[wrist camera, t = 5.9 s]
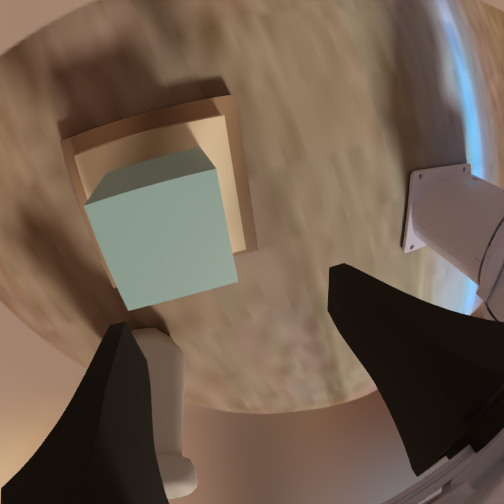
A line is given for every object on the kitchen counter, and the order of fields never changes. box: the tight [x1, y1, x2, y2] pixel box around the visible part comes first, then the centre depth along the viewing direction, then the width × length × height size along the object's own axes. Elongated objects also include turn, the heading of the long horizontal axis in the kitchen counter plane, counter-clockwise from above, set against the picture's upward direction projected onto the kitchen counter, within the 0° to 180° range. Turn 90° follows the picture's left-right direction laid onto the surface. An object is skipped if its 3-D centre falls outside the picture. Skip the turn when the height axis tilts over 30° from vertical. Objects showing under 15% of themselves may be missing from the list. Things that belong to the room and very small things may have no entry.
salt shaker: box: [131, 327, 198, 499], centre depth 17 cm, size 6×6×13 cm
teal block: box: [84, 147, 238, 311], centre depth 13 cm, size 5×5×5 cm
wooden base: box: [60, 94, 258, 288], centre depth 16 cm, size 10×10×2 cm
